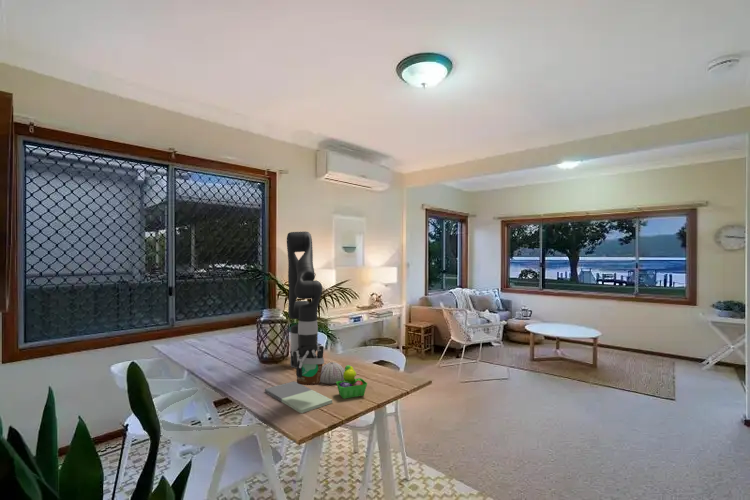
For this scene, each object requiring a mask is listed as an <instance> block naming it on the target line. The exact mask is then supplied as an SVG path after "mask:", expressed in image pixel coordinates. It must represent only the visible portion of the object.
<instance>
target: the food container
mask: <svg viewBox="0 0 750 500" xmlns="http://www.w3.org/2000/svg"><path fill="white" fill-rule="evenodd" d="M298 356H299V355H298ZM298 356H297V358H298ZM299 358H300V359H302V357H299ZM298 363H300V361H298ZM324 365H325V359H324V357H323V358H317V359H313V358H305V360H304V362H302V367H301V368H302V377H301V378H299V377H297V376H296V382H297V383H298V384H301V385H303V386H317V385H320V383H321V382H320V377H321V371H322V366H324Z"/></svg>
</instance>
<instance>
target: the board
mask: <svg viewBox="0 0 750 500" xmlns="http://www.w3.org/2000/svg"><path fill="white" fill-rule="evenodd" d="M264 392H265V393H267V395H270V396H271V397H273V398H275V399H276V400H278V401H279V402H281V403H282V404H285V405H286V406H288V407H290V408H291V409H292V410H294V411H296V412H298V413H300V414H304V413H307V412H309V411H312V410H315V409H319V408H321V407H324V406H327V405H331V404H333V399H331V398H329V397H328V396H326V395H323V394H321V393H319V392H318V391H315V390H313V389H311V388H309V387H307V386H306V385H301V384H298V383H297V381H295V380H294V381H289V382H286V383H283V384H279V385H275V386H271V387H267V388H264Z"/></svg>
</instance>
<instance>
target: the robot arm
mask: <svg viewBox="0 0 750 500" xmlns="http://www.w3.org/2000/svg"><path fill="white" fill-rule="evenodd" d="M286 251H287V259H288V260H287V262H288V264H287V265H288V269H287V270H288V271H287V280H288V282H287V283H288V307H287V309H288V311H287V312H288V317H289V318H290V319H291V320H298V323H297V324H294V325H292V326H291V327H290V358H289V359H290V360H289V361H290V362H289V364H290V367H291V368H295V371H296V372H295V374H296V378H297V377H299V378H301V377H302V368H301V367H302V362H304V360H305V358H313V359H317V358H324V351H325V350H324V348H325V347H324V346H323V345H321V344H318V332H319V331H318V328H319V327H318V325H319V324H318V308H319V303H320V299H321V296H322V292H323V286H322V283H321V282H320V281H319V280H315V277H316V274H315V273H316V272H315V268H314V263H313V262H314V258H313V257H314V254H313V253H314V252H313V251H314V250H313V239H312V234H311V233H310V232H309V231H291V232H290V231H289V232H288V233H287V236H286ZM296 253H303V254H302V255H301V256H300V258H298V257H297V255H296ZM297 299H300V300H297ZM307 299H309V300H311V301H310V302H309V301H308V300H307ZM317 344H318V345H317ZM316 352H317V353H316ZM298 355H299V356H298ZM297 356H298V358H297ZM299 357H302V359H300V358H299ZM298 361H300V363H298Z"/></svg>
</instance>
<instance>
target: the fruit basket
mask: <svg viewBox="0 0 750 500" xmlns="http://www.w3.org/2000/svg"><path fill="white" fill-rule="evenodd" d="M344 370H345V371H344V374H343V378H344V380H343V381H337V382H336V383H335V384H336V385H337V390H338V394H339V396H340V397H341V398H342V399H348V398H349V399H350V398H355V397H363V395H365V392H366V389H367V386H368V382H366V380H364V379H363V378H361V377H360V378H359V377H358V378H355V377H357V372H356V370H355V369H354V367H353V366H351V365H350V364H349V365H346V366H345V368H344Z"/></svg>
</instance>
